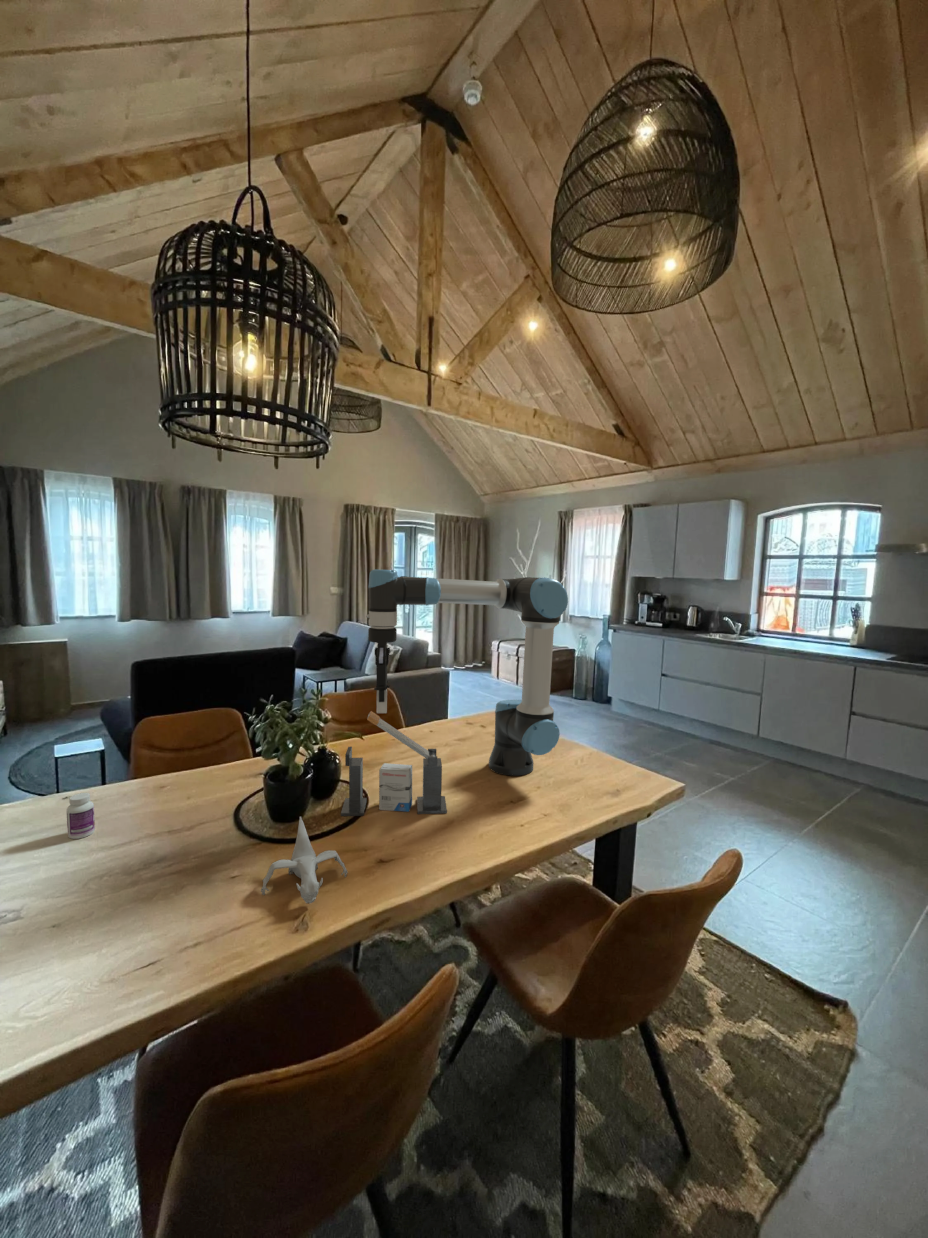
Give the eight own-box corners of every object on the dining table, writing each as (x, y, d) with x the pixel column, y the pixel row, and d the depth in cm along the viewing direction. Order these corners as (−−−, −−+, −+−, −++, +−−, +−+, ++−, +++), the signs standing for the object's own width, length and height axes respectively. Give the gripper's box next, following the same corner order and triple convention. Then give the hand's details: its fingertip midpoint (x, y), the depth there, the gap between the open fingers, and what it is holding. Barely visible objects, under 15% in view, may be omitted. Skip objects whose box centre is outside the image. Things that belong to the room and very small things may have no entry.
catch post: (366, 800, 144) (366, 744, 143) (363, 815, 136) (363, 756, 134) (345, 801, 144) (345, 745, 142) (340, 816, 135) (340, 756, 133)
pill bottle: (100, 830, 125) (98, 793, 124) (78, 841, 120) (76, 802, 119) (85, 826, 127) (83, 790, 126) (62, 837, 122) (60, 798, 121)
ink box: (412, 804, 143) (413, 764, 142) (409, 812, 138) (409, 771, 137) (383, 802, 144) (383, 762, 143) (378, 810, 139) (378, 769, 138)
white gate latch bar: (432, 759, 143) (436, 754, 143) (433, 766, 138) (437, 760, 138) (367, 715, 140) (371, 710, 140) (366, 720, 135) (369, 715, 135)
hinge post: (444, 798, 147) (445, 747, 145) (446, 813, 138) (447, 758, 136) (417, 799, 146) (418, 747, 144) (417, 814, 137) (418, 759, 136)
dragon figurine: (250, 896, 102) (250, 856, 100) (299, 852, 116) (300, 815, 114) (310, 922, 98) (312, 881, 95) (354, 872, 112) (356, 835, 109)
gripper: (370, 624, 142) (369, 706, 144) (366, 629, 129) (365, 719, 131) (397, 624, 142) (396, 706, 145) (395, 629, 130) (394, 719, 132)
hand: (381, 712), depth 138 cm, fingers closed
